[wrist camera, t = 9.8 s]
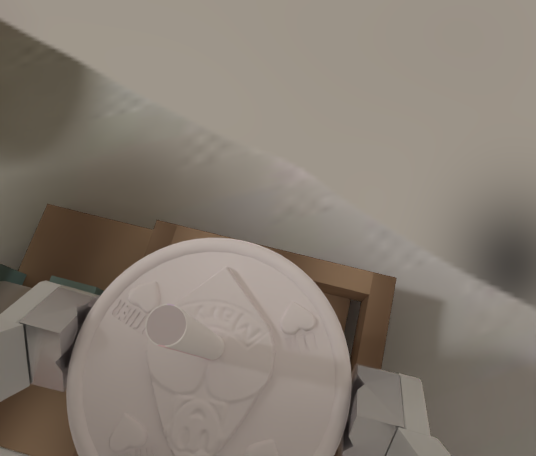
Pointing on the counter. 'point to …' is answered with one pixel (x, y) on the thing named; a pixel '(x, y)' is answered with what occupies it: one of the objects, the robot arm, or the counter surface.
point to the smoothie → (210, 358)
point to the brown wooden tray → (116, 262)
